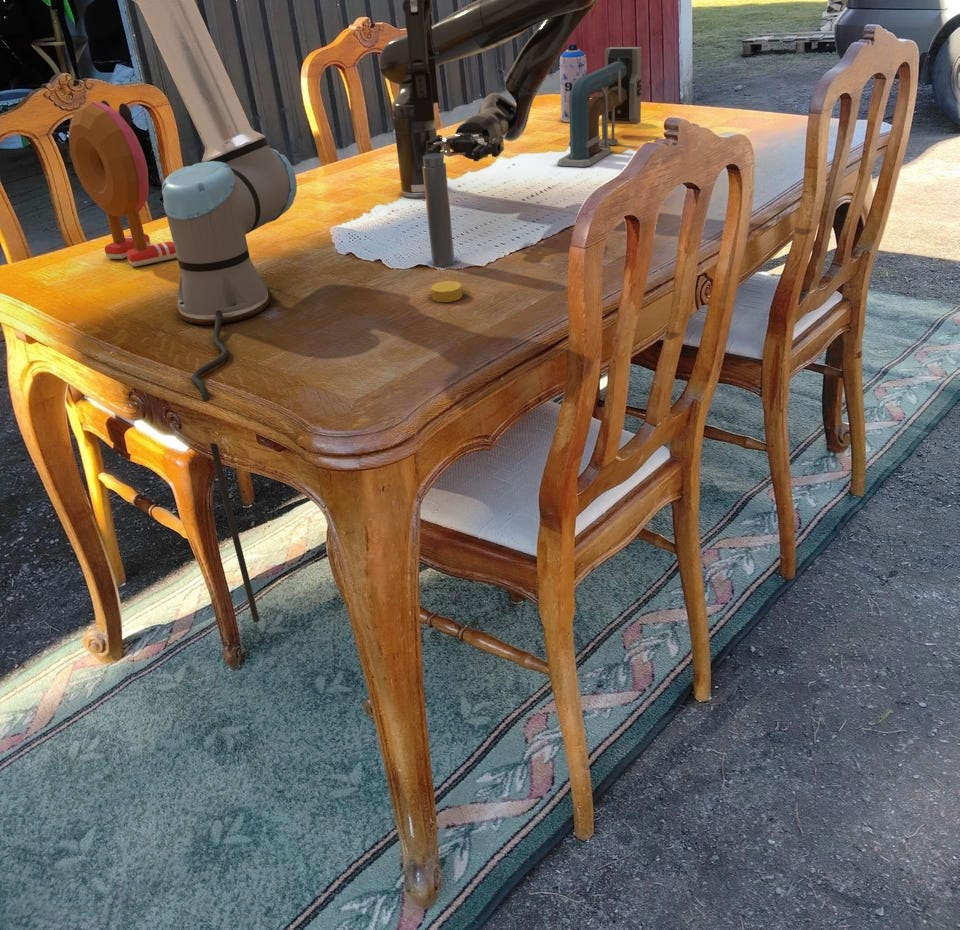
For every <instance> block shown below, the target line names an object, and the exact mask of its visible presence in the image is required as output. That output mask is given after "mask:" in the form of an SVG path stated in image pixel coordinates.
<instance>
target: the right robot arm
mask: <svg viewBox="0 0 960 930" xmlns="http://www.w3.org/2000/svg"><path fill="white" fill-rule="evenodd" d="M598 1H599V0H476V1H473V2H471V3H469V4H467V5H466V6H464V7H462V8H460V9H458V10H456V11H454V12H452V13H451V14H449V15H447V16H446V17H444V18H442V19H441V20H439V21H437V22H436V23H435V24H432V25H431V27H432V35H433V43H434V45H435V49H434V50H438V52H439V57H431V58H435V66H436V67H438V66H441V65H442V64H446V63H449V62H452V61H457V60H460V59H461V60H462V59H464V58H467V57H472V56H474V55H477V54H480V53H483V52H486V51H488V50H491V49H493V48H496V47H498V46H501V45H503V44H504V43H506V42H508V41H511V40H512V39H514V38H516V37H518V36H519V35H521V34H523V33H524V32H525V31H527V30H528V29H530V28H532V27H533V26H535V25H537V24H539V23H541V24H540V25H539V26H538V27H537V29H536V30H535V31H534V32H533V34H532V35H531V37H530V38H529V39H528V41H527V42H526V43H525V45H524V46H523V47H522V49H521V50H520V52H519V53H518V55H517V57H516V59H515V61H514V63H513V64H512V65H511V68H510V70H509V71H508V73H507V75H506V77H505V79H504V87H505V89H506V91H507V92H508V93H509V94H510V95H511V97H512V98H513V99H514V102H515V103H514V102H512V101H511V100H510V99H508V98H507V97H505V96H504V95H503V94H501V93H499V92H493V93H489V94H488V95H487V96H486V97H485V98H484V99H483V100H482V102H481V104H480V106H479V109H478V111H477V113H476V114H474V115H472V116H470V117H469V118H467V119H466V120H465V121H463V122H462V123H461V124H459V125H458V127H457V128H456V131H455V133H454V135H449V136H444V137H443V135H442V134H438V132H437V123H436V110H435V104H436V103H433V110H434V120H430V121H417V122H416V119H415V109H414V99H413V90H412V80H411V75H406V69H405V68H409V52H408V37H407V34H406V35H402V36H399V37H396V38H393V39H391V40H390V41H388V42H387V43H386V44H385V45H384V46H383V47H382V49H381V52H380V54H379V56H378V57H379V58H378V66H379V67H378V68H379V70H380V72H381V74H382V76H383V77H385V79H386V80H387V81H389V82H391V83H393V84H396V85H398V91H397V95H396V97H395V99H394V100H393V101H392V104H391V105H392V106H391V111H392V118H393V126H394V127H393V128H394V135H395V144H396V151H397V160H398V161H397V162H398V170H399V171H398V172H399V180H400V187H401V189H400V192H401V195H402V196H403V197H406V198H415V199H416V198H417V199H419V198H426V197H425V187H424V177H423V168H422V166H423V165H424V161H423V156H424V155H427V154H432V153H440V154H443V156H444V157H454V156H463V157H464V158H466V159H468V160H473V162H479V161H480V160H483V159H487V158H488V157H489V155H491V157H492V158H497V157H499V156H500V155H501V153H503V152H504V149H505V147H504V146H505V145H504V144H505V143H504V141H506V142H515V141H516V140H518V139H519V138H520V137H521V136H522V135H523V134H524V132H525V130H526V127H527V124H528V120H529V116H530V112H531V108H532V107H533V102H534V100H535V98H536V95H537V93H538V91H539V90H540V88H541V87H542V85H543V83H544V82H545V80H546V78H547V76H548V75H549V73H550V71H551V69H552V68H553V66H554V64H555V62H556V61H557V59H558V57H560V56H559V55H560V54H561V52H562V51H563V49H564V47H566V46H565V45H566V44H567V43H568V41H569V39H570V37H572V34H574V32H575V31H576V29H577V28H578V26H579V25H580V24H581V22H582V20H583V19H584V18H585V17H586V16H587V15H588V13H589V12H590V11H591V9H592V8H593V7H594V6H595V5H596V4H597V3H598Z"/></svg>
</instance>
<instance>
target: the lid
mask: <svg viewBox="0 0 960 930" xmlns="http://www.w3.org/2000/svg"><path fill="white" fill-rule="evenodd" d="M430 292H431V299H432V300H433V301H435V302H438V303H452V302H455V301H458V300H461V298H463V287H462V284H461V283H460V282H459V281H454V280H447V281H446V280H445V281H440V282H436V283H434V284H433V285H431V291H430Z"/></svg>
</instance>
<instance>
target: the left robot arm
mask: <svg viewBox="0 0 960 930" xmlns="http://www.w3.org/2000/svg"><path fill="white" fill-rule="evenodd" d="M131 1H132V2H134V3H136V4H137V5H138V8H139V10H140V11H141V14H142V16H143V18H144V20H145V22H146V24H147V27H148V29H149V31H150V33H151V35H152V37H153V39H154V42H155V44H156V45H157V48H158V50H159V52H160V55H161V57H162V59H163V61H164V62H165V65H166V67H167V69H168V71H169V73H170V75H171V78H172V80H173V82H174V84H175V85H176V86H175V87H176V88H177V90H178V93H179V95H180V97H181V99H182V101H183V103H184V106H185V108H186V111H187V112H188V114H189V116H190V118H191V121H192V123H193V126H194V127H195V129H196V131H197V133H198V136H199V138H200V139H201V141H202V144H203V147H204V152H203V156H202V159H201V162H197V163H194V164H193V165H186V166H184V167H180V168H179V169H176V170H175V171H173V172H171V173H170V174H169V175H167V177H166V178H165V179H164V181H163V182H162V185H161V193H162V199H163V210H164V213H165V215H166V219H167V223H168V226H169V230H170V231H169V232H170V235H171V238H172V242H173V243H174V247H175V251H176V255H177V257H176V259H177V262H178V266H179V283H178V294H177V310H178V314H179V318H180V319H182V320H183V321H184V322H186V323H189V324H193V325H202V326H203V325H204V326H205V325H206V326H210V325H214V327H213V335H212V337H213V338H212V340H213V344H214V346H215V347H216V348H217V349H218V350H219V351H220V352H221V354H220V355H219V356H218V357H217V358H215V359H214V360H212V361H210V362H208V363H205V364H204V365H202V366H200V367H198V369H196V370H195V371H194V373H193V374H192V376H191V379H190V380H191V382H192V384H193V385H194V386H196V387H197V388H198V389H199V392H200V395H201V399H202V401H203V402H208V401H210V395H209V392H208V388H207V386H206V384H205V383H204V382H203V381H202V380H201V379H200V377H202V375H204V374H206V373H207V372H209V371H211V370H212V369H214V368H216V367H217V366H219V365H221V364H222V363H224V362H225V361H226V360H227V358H228V356H229V350H228V347H226V345H224V344H223V342H221V339H220V335H221V329H222V324H230V323H233V322H239V321H241V320H245V319H248V318H251V317H253V316H256V315H258V314H260V312H263V311H264V310H265V309H266V308H267V307H268V306H269V305H270V296H269V291H268V286H267V282H266V281H265V280H263V279H262V278H261V276H260V274H259V272H258V270H257V269H256V267H255V265H254V264H253V262H252V260H251V257H250V251H249V246H248V241H247V236H246V235H248V234H250V233H251V232H253V231H256V230H258V229H259V228H261V227H262V226H264V225H266V224H268V223H271V222H275V221H277V220H278V219H279V218H280V217H281V216H282V215H283V214H285V213H287V212H288V211H289V209H290V208H291V207H292V206H293V203H294V201H295V198H296V196H297V192H298V191H297V190H298V183H297V176H296V173H295V169H294V166H293V165H292V164H291V162H290V161H289V159H288V158H287V157H286V156H285V154H281V153H280V151H279V150H277V149H274V148H271V147H270V145H269V143H268V141H267V138H266V136H265V135H264V134H262V133H260V132H258V131H255V130H254V129H253V128H252V127H251V125H250V122H249V119H248V117H247V116H246V113H245V111H244V109H243V106H242V104H241V102H240V100H239V97H238V95H237V93H236V91H235V89H234V86H233V83H232V82H231V79H230V77H229V74H228V73H227V70H226V68H225V66H224V64H223V62H222V59H221V56H220V54H219V53H218V51H217V48H216V45H215V44H214V41H213V38H212V37H211V34H210V32H209V30H208V28H207V25H206V23H205V21H204V18H203V17H202V14H201V12H200V9H199V7H198V6H197V3H196V0H131ZM432 4H433V2H432V0H403V2H402V11H403V15H404V23H405V24H404V25H405V29H406V32H407V33H406V35H407V37H408V52H409V68H405V69H406V75H411V80H412V90H413V99H414V109H415V119H416V122H417V121H430V120H434V110H435V109H434V110H433V103H435V104H437V103H438V104H439V103H440V101H439V89H438V80H437V79H438V78H437V77H438V76H437V66H435V58H431V57H439V52H438V50H434V49H435V45H434V43H433V35H432V27H431V26H433V16H432V15H433V14H432V11H433V5H432ZM209 444H210V450H211V455H212V459H213V464H214V468H215V472H216V477H217V481H218V486H219V489H220V495H221V498H222V503H223V506H224V511H225V515H226V518H227V522H228V526H229V530H230V534H231V538H232V542H233V545H234V550H235V554H236V558H237V561H238V565H239V569H240V573H241V578H242V581H243V585H244V589H245V594H246V597H247V601H248V605H249V610H250V614H251V618H252V622H253V623H258V622H260V617H259V616H260V615H259V611H258V608H257V604H256V599H255V596H254V592H253V587H252V583H251V580H250V575H249V572H248V571H249V570H248V567H247V563H246V559H245V555H244V552H243V548H242V543H241V538H240V536H239V532H238V527H237V524H236V520H235V515H234V512H233V511H234V510H233V507H232V502H231V499H230V493H229V490H228V486H227V482H226V481H227V480H226V477H225V473H224V468H223V463H222V460H221V455H220V451H219V446H218V443H215V442H210V443H209Z"/></svg>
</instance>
